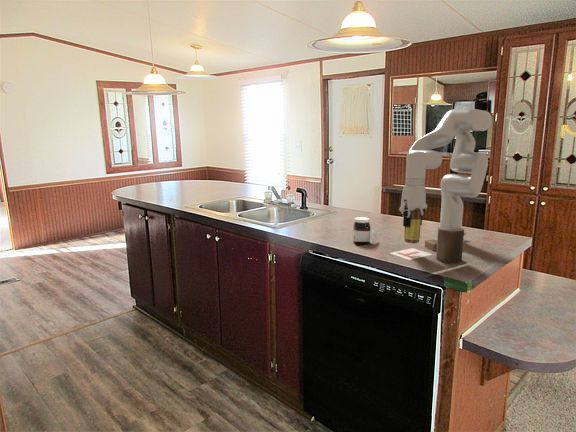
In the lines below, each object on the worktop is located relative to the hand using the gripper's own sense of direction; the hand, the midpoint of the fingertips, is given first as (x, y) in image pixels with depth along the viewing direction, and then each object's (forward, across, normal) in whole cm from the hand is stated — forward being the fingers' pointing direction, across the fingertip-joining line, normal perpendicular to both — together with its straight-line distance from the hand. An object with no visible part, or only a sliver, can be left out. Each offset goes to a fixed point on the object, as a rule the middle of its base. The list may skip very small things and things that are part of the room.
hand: (412, 225), depth 172 cm
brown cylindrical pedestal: (+13, -7, +14) cm, 20 cm away
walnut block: (+13, -15, 0) cm, 20 cm away
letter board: (+13, 0, 0) cm, 13 cm away
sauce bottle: (+7, 0, 0) cm, 7 cm away
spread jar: (+13, +3, -24) cm, 28 cm away
